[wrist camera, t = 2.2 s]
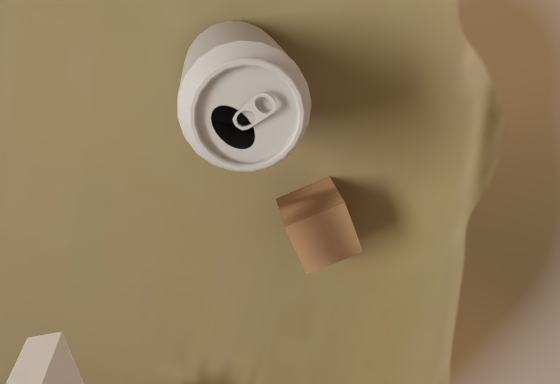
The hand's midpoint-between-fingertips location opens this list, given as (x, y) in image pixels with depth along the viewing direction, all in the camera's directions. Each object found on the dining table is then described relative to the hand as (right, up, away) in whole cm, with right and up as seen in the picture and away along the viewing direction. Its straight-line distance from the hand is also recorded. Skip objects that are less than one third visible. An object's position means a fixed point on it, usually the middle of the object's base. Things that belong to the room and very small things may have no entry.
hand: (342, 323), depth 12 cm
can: (-5, +12, +24) cm, 27 cm away
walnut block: (+1, +2, +30) cm, 30 cm away
